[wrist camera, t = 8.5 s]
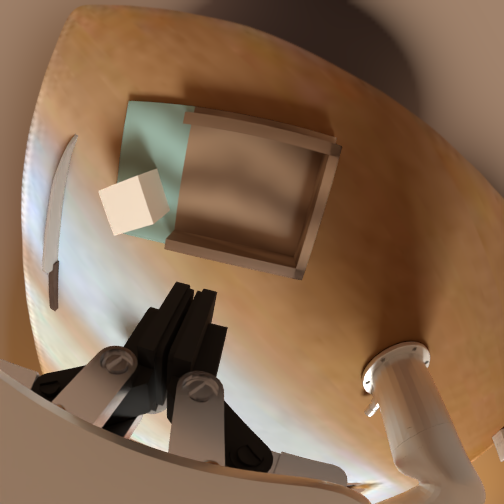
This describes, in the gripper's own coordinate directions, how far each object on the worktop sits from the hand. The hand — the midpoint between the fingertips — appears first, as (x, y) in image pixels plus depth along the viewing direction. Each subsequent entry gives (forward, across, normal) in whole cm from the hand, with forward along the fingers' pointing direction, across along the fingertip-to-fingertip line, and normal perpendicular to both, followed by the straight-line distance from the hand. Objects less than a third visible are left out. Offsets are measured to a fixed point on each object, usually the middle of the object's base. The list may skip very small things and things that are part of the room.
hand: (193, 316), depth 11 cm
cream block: (+20, +11, +1) cm, 23 cm away
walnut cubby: (+21, +4, -1) cm, 22 cm away
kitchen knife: (+22, +26, +10) cm, 35 cm away
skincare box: (+24, -120, +60) cm, 137 cm away
